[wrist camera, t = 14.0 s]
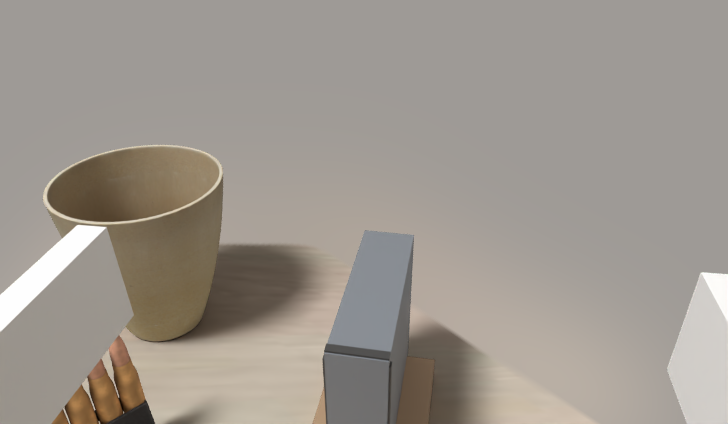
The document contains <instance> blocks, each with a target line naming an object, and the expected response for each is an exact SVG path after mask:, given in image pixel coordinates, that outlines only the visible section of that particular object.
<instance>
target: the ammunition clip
mask: <svg viewBox="0 0 728 424" xmlns="http://www.w3.org/2000/svg"><path fill="white" fill-rule="evenodd" d="M109 353H110V357H111V361H112V366H113V370H114V381H115V384H116V387H117V390H118V394H119V398H118V396H117V393H116V390H115V387H114V384H113V382H112V380H111V379H110V377H109V376H108V373H107V371H106V369H105V367H104V364H103V361H102V359H100V360H99V362H98V363H97V364H96V366H95V367H94V368H93V370H92V371H91V372H90V374H89V375H88V376H87V378H88V381H89V390H90V395H91V398H92V401H93V404H94V407H95V409H96V410H95V411H94V409H93V406H92V403H91V401H90V398H89V396H88V394H87V393H86V391H85V390H84V389H83V386H82V384H81V385H80V387H79V388H78V389H77V391H76V392H75V393H74V395H73V396H72V397H71V399H70V400H69V401H68V403H67V404H66V405H65V410H66V413H67V415H68V418H69V421H70V423H71V424H99V422H98V421H100V424H155V422H154V419H153V417H152V414H151V411H150V409H149V406H148V403H147V401H146V399H145V396H144V393H143V389H142V386H141V383H140V379H139V376H138V373H137V371H136V369H135V367H134V366H133V364H132V361H131V359H130V357H129V354H128V351H127V348H126V346H125V344H124V342H123V340H122V339H121V337H120V336H119V335H118V337H117V338H116V339H115V341H114V342H113V343H112V345H111V346H110V347H109ZM123 411H124V413H123ZM52 424H69V423H68V420H67V418H66V415H65V413H64V411H63V409H62V411H61V412H60V413H59V414H58V416H57V417H56V418H55V420H54V421H53V422H52Z"/></svg>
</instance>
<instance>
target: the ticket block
mask: <svg viewBox="0 0 728 424" xmlns="http://www.w3.org/2000/svg"><path fill="white" fill-rule="evenodd" d="M413 242H414V235H407V234H397V233H387V232H377V231H367V230H365V232H364V235H363V238H362V241H361V244H360V247H359V250H358V253H357V256H356V259H355V262H354V265H353V268H352V271H351V274H350V277H349V280H348V283H347V286H346V289H345V292H344V295H343V298H342V301H341V304H340V307H339V310H338V313H337V316H336V319H335V322H334V325H333V328H332V331H331V334H330V337H329V340H328V343H327V344H326V347H325V350H324V356H323V375H324V389H323V392H322V395H321V398H320V401H319V405H318V408H317V411H316V414H315V418H314V421H313V424H428V423H429V413H430V403H431V394H432V384H433V375H434V363H435V360H433V359H425V358H417V357H410V356H408V343H409V323H410V303H411V283H412V263H413V244H414V243H413Z"/></svg>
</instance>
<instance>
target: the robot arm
mask: <svg viewBox="0 0 728 424" xmlns="http://www.w3.org/2000/svg"><path fill="white" fill-rule="evenodd" d="M133 316H134V314H133V311H132V307H131V304H130V301H129V298H128V294H127V291H126V288H125V285H124V282H123V278H122V275H121V272H120V269H119V265H118V262H117V259H116V256H115V252H114V249H113V246H112V243H111V240H110V236H109V233H108V230H107V227H99V226H86V225H77V226H76V227H75V228H74V229H72V230H71V231H70V232H69V233H68V234H67V235H66V236H65V237H64V238H63V239H62V240H60V241H59V243H57V244H56V245H55V246H54V247H53V248H52V249H50V250H49V251H48V252H47V253H46V254H45V255H44V256H43V257H42V258H41V259H39V261H37V262H36V263H35V264H34V265H33V266H32V267H31V268H30V269H28V270H27V271H26V272H25V273H24V274H23V275H22V276H21V277H20V278H19V279H17V280H16V281H15V282H14V283H13V284H12V285H11V286H10V287H9V288H7V289H6V290H5V291H4V292H3V293H2V294H1V295H0V424H52V422H53V421H54V420H55V418H56V417H57V416H58V414H59V413H60V412H61V411H62V409H63V408H64V407H65V405H66V404H67V403H68V401H69V400H70V399H71V397H72V396H73V395H74V393H75V392H76V391H77V389H78V388H79V387H80V385H81V384H82V383H83V382H84V380H85V379H86V378H87V376H88V375H89V374H90V372H91V371H92V370H93V368H94V367H95V366H96V364H97V363H98V362H99V360H100V359H101V358H102V356H103V355H104V354H105V353H106V351H107V350H108V349H109V347H110V346H111V345H112V343H113V342H114V341H115V339H116V338H117V337H118V335H119V334H120V333H121V331H122V330H123V329H124V328H125V326H126V325H127V324H128V322H129V321H130V320H131V318H132V317H133ZM667 371H668V373H669V376H670V379H671V382H672V384H673V387H674V390H675V392H676V395H677V398H678V401H679V403H680V406H681V409H682V411H683V414H684V416H685V420H686V422H687V424H728V274H716V273H702V272H701V274H700V276H699V279H698V282H697V285H696V288H695V291H694V294H693V296H692V299H691V302H690V305H689V308H688V311H687V314H686V316H685V319H684V322H683V325H682V328H681V331H680V334H679V337H678V340H677V343H676V345H675V348H674V351H673V354H672V357H671V360H670V362H669V365H668V368H667Z"/></svg>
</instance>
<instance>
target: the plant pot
mask: <svg viewBox="0 0 728 424" xmlns="http://www.w3.org/2000/svg"><path fill="white" fill-rule="evenodd" d="M222 199H223V168H222V166H221V164H220V162H219V161H218V160H217V159H216V158H215V157H213V156H212V155H210V154H208V153H206V152H203V151H200V150H198V149H194V148H189V147H183V146H175V145H146V146H137V147H129V148H123V149H117V150H113V151H108V152H105V153H101V154H98V155H95V156H92V157H89V158H87V159H84V160H81V161H79V162H77V163H75V164H73V165H71V166H69V167H68V168H66V169H64V170H63V171H61V172H60V173H59V174H58V175H56V176H55V177H54V178H53V179H52V180H51V181H50V182H49V184H48V185H47V186H46V188H45V190H44V193H43V201H44V204H45V206H46V208H47V210H48V212H49V214H50V216H51V218H52V220H53V222H54V224H55V226H56V228H57V229H58V231H59V233H60V235H61V237H62V239H63V238H64V237H65V236H66V235H67V234H68V233H69V232H70V231H71V230H72V229H74V228H75V227H76V226H77V225H86V226H99V227H107V230H108V233H109V236H110V240H111V243H112V246H113V249H114V252H115V256H116V259H117V262H118V265H119V269H120V272H121V275H122V278H123V282H124V285H125V288H126V291H127V294H128V298H129V301H130V304H131V307H132V311H133V314H134V316H133V317H132V318H131V320H130V321H129V322H128V324H127V325H126V328H127V329H128V330H129V331H130V332H131V333H133V334H134V335H135V336H136V337H138V338H140V339H143V340H147V341H166V340H171V339H174V338H177V337H180V336H182V335H184V334H186V333H187V332H189V331H191V330H192V329H193V328H194V327H196V326H197V324H198V323H199V322H200V320H201V319H202V316H203V314H204V311H205V307H206V304H207V300H208V297H209V293H210V289H211V285H212V281H213V276H214V272H215V266H216V261H217V255H218V248H219V240H220V232H221V220H222Z"/></svg>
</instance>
